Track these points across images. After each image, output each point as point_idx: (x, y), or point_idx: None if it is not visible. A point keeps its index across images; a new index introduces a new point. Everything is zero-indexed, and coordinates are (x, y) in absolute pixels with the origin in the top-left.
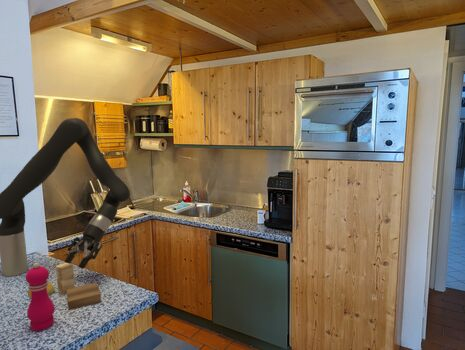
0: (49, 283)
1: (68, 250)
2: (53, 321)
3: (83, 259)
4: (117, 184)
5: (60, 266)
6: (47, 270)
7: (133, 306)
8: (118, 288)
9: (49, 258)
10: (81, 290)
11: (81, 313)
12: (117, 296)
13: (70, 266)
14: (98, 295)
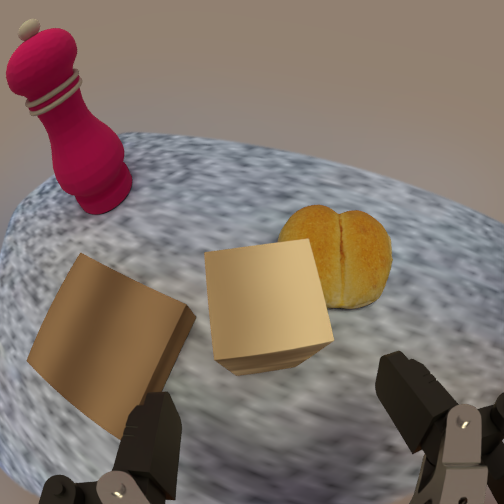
0: (353, 284)
1: (496, 401)
2: (82, 207)
3: (134, 449)
4: None
5: (269, 261)
6: (7, 72)
7: None
8: (86, 481)
9: None
10: (106, 339)
11: (52, 283)
12: (40, 425)
13: (214, 336)
14: (32, 354)
